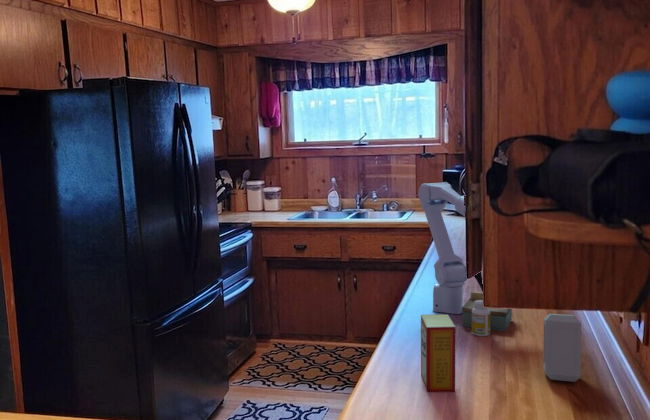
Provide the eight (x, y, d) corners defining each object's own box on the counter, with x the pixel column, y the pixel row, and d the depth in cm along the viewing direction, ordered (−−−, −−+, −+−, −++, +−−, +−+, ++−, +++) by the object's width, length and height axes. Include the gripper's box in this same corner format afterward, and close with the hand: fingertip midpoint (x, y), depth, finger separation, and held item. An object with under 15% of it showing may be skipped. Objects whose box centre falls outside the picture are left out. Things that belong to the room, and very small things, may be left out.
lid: (462, 311, 181) (462, 299, 180) (470, 301, 191) (470, 290, 190) (506, 315, 175) (506, 304, 175) (512, 305, 185) (512, 294, 185)
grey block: (538, 309, 168) (545, 314, 140) (568, 311, 166) (581, 316, 137) (538, 363, 166) (545, 379, 138) (567, 365, 164) (581, 383, 136)
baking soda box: (421, 375, 146) (420, 313, 144) (447, 375, 146) (447, 312, 144) (426, 392, 136) (426, 325, 134) (455, 391, 136) (455, 325, 134)
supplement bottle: (483, 329, 178) (483, 298, 177) (493, 335, 173) (494, 303, 172) (467, 331, 176) (468, 300, 175) (478, 337, 171) (478, 305, 170)
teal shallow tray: (462, 325, 181) (462, 311, 181) (470, 315, 191) (470, 302, 191) (505, 331, 176) (506, 316, 175) (511, 320, 186) (511, 306, 185)
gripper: (463, 247, 174) (474, 292, 171) (512, 238, 173) (524, 283, 170) (461, 250, 181) (471, 294, 178) (508, 241, 180) (519, 285, 177)
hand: (496, 289), depth 174 cm, fingers open, 7 cm apart
